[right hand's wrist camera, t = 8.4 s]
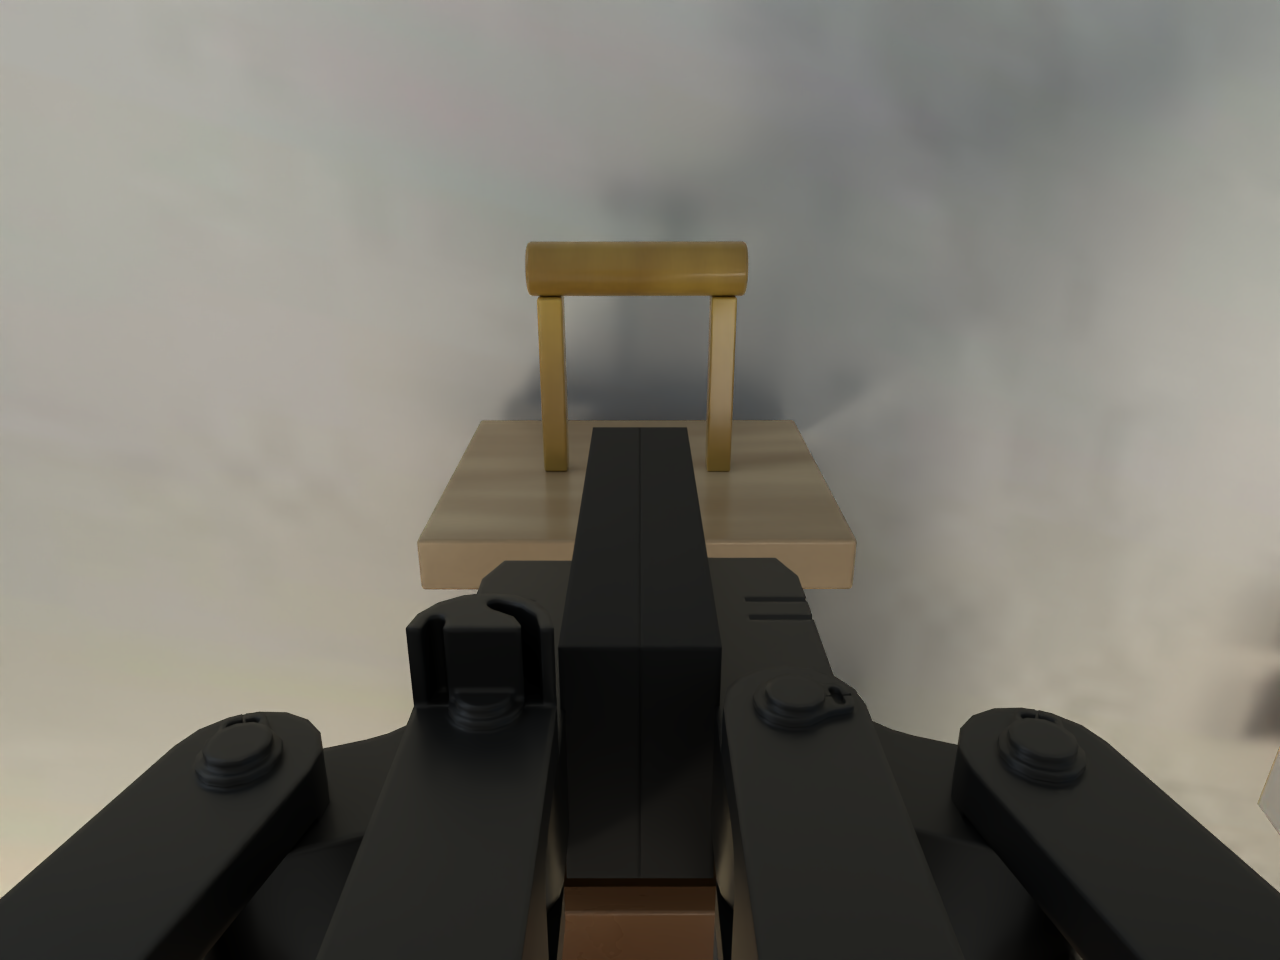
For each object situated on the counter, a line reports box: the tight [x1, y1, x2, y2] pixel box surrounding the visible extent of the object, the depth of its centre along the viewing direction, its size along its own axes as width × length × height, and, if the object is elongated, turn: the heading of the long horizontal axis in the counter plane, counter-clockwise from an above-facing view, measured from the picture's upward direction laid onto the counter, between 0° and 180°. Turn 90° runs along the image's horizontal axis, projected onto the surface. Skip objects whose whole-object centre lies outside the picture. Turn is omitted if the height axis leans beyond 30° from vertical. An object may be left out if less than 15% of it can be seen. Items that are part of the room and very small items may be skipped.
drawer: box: [417, 241, 857, 886], centre depth 25 cm, size 24×9×8 cm, turn 0°
